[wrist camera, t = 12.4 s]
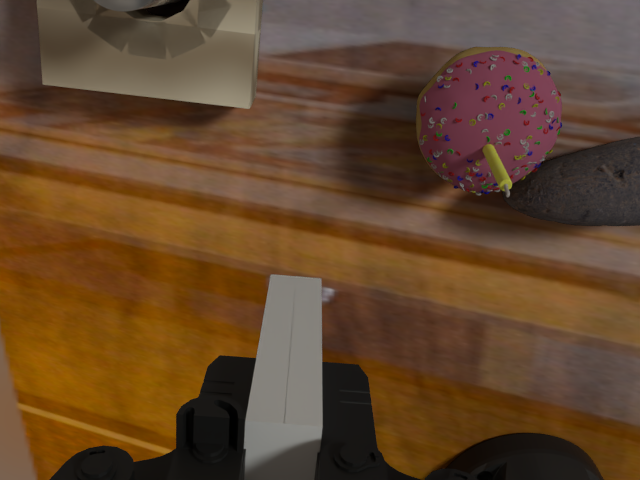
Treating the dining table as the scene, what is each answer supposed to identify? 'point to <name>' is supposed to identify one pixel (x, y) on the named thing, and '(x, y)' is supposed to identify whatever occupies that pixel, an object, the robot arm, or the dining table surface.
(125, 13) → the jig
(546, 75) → the cupcake
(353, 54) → the dining table surface
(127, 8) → the grey metal rod
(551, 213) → the perforated stone tool
